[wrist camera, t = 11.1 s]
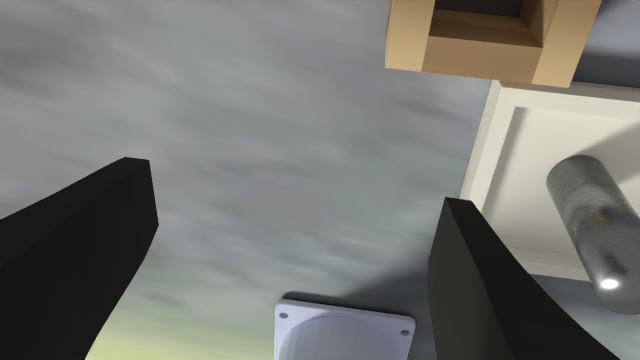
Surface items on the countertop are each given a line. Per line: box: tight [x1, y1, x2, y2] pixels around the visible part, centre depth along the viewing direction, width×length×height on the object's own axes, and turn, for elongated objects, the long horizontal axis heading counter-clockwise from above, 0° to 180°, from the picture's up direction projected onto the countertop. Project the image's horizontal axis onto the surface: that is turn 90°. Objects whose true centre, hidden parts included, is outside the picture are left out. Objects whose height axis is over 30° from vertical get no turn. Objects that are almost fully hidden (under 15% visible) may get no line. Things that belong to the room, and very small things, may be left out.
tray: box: [459, 80, 640, 282], centre depth 21 cm, size 9×9×2 cm
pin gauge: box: [546, 155, 640, 315], centre depth 18 cm, size 2×2×6 cm
